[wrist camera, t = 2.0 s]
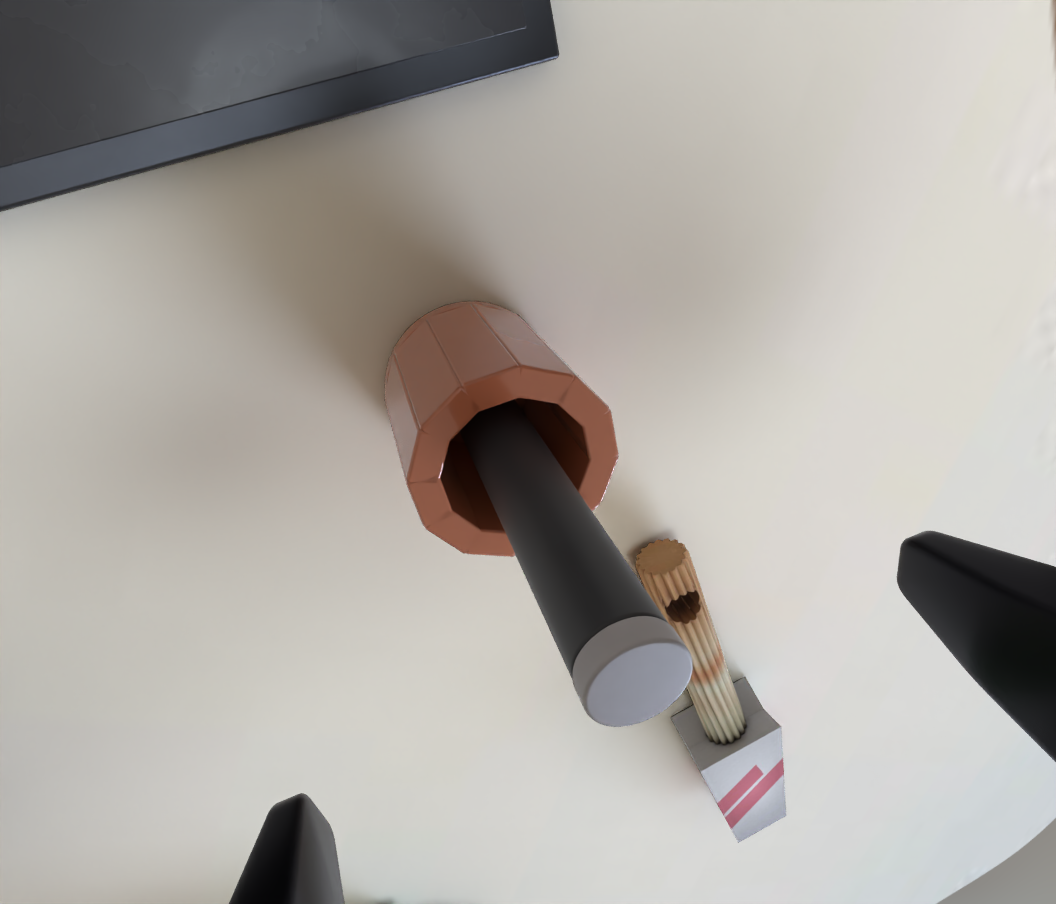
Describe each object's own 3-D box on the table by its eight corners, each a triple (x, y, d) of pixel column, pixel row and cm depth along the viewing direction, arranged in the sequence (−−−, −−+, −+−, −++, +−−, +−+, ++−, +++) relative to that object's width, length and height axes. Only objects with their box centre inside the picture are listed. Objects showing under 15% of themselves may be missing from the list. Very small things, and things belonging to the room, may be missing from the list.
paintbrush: (744, 877, 31) (630, 604, 21) (715, 824, 33) (599, 556, 23) (814, 839, 31) (734, 551, 21) (780, 789, 34) (693, 508, 23)
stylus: (452, 424, 18) (594, 744, 9) (434, 372, 17) (573, 671, 8) (507, 404, 18) (698, 699, 9) (493, 352, 17) (688, 622, 8)
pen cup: (415, 475, 19) (446, 584, 15) (359, 332, 16) (377, 414, 12) (560, 423, 19) (629, 514, 15) (526, 278, 17) (598, 338, 13)
